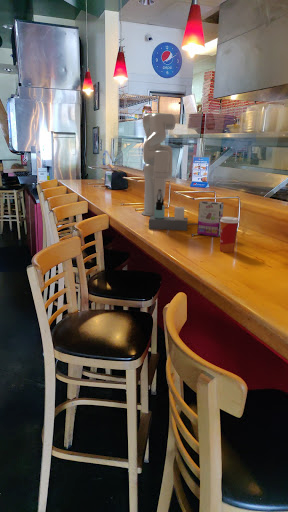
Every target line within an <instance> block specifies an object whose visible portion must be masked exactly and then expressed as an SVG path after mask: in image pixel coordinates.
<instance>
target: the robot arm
mask: <svg viewBox="0 0 288 512" xmlns="http://www.w3.org/2000/svg"><path fill="white" fill-rule="evenodd" d="M176 123H177V122H176V118H175V115H174V114H173V113H161V112H160V113H157V112H156V113H155V112H154V113H153V112H151V113H145V114H144V116H143V117H142V126H143V130H144V133H145V137H146V140H145V142H144V143H143V147H142V153H143V154H142V157H143V158H142V159H143V163H144V164H145V165H144V166H143V175H144V176H143V177H144V203H143V205H144V206H143V208H144V209H143V211H141V215H142V216H148V217H151V216H154V210H155V205H156V210H162V205H164V202H165V200H164V198H165V196H166V186H167V184H166V183H167V182H166V181H167V180H170V179H171V178H172V177H173V176H172V175H173V148H172V146H170V145H168V144H162V143H164V141H165V140H166V138H167V134H166V130H168V131H169V130H171V131H173V130H174V129H175V127H176Z"/></svg>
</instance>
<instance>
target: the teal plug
mask: <svg viewBox="0 0 288 512" xmlns="http://www.w3.org/2000/svg"><path fill="white" fill-rule="evenodd" d="M165 208H166V205H162V210H156V205H155V210H154V218H156V219H163V218H164V217H165V211H166V209H165Z"/></svg>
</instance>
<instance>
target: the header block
mask: <svg viewBox="0 0 288 512" xmlns="http://www.w3.org/2000/svg"><path fill="white" fill-rule="evenodd" d="M173 215H174V216H164V218H163V219H156V218H154V216H149V218H148V229H149V230H164V229H166V231H167V230H168V231H169V230H171V231H188V220H189V218H188V217H185V207H184V206H174V214H173Z"/></svg>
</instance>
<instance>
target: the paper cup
mask: <svg viewBox="0 0 288 512" xmlns="http://www.w3.org/2000/svg"><path fill="white" fill-rule="evenodd" d="M220 221H221V228H220V236H219V238H220V239H219V241H220V242H219V251H220V252H221V253H224V254H225V253H226V254H230V253H234V251H235V245H236V240H237V239H236V238H237V233H238V232H237V231H238V225H239V223H240V222H239V221H240V220H239V218H238V217H234V216H223V217H222V218H221V220H220Z"/></svg>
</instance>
